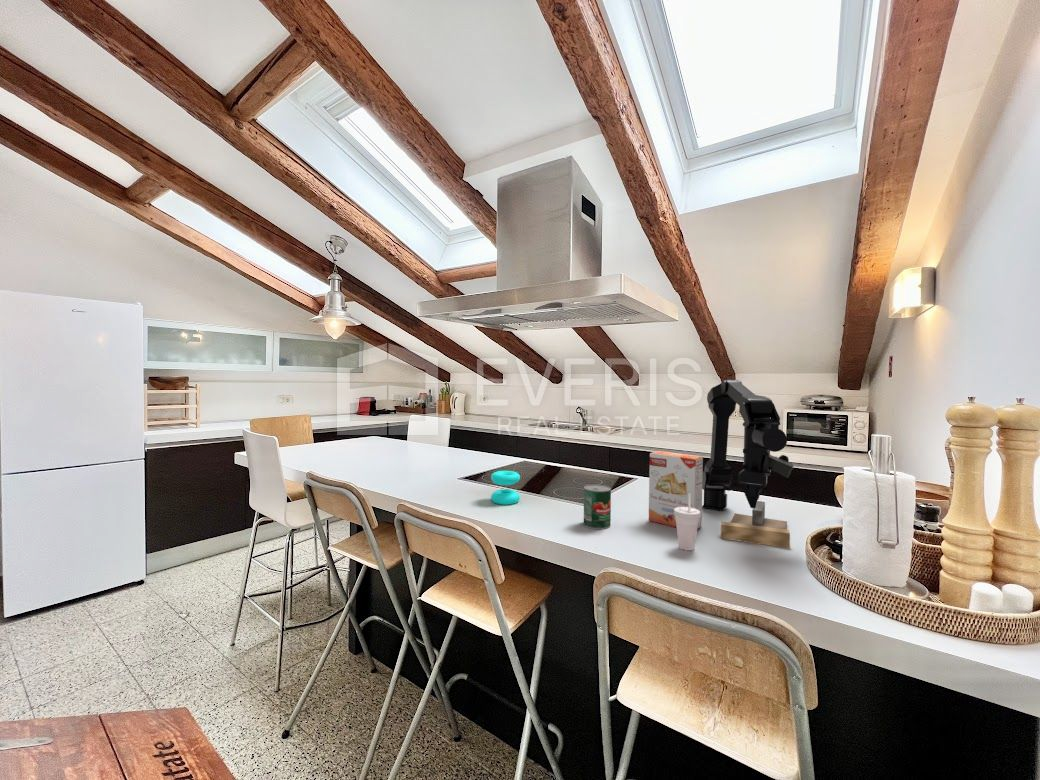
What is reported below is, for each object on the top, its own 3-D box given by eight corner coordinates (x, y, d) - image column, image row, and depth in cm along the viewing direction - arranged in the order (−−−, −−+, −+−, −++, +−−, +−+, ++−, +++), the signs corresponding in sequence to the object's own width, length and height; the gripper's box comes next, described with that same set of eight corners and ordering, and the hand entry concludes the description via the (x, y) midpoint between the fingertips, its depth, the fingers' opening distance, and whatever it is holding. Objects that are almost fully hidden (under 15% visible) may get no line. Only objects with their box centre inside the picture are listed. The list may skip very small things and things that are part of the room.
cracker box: (647, 521, 134) (648, 452, 133) (656, 516, 138) (657, 449, 137) (694, 532, 124) (695, 458, 124) (702, 527, 129) (703, 455, 128)
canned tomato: (590, 518, 136) (591, 483, 136) (615, 523, 131) (615, 486, 131) (578, 525, 129) (579, 488, 129) (603, 531, 125) (604, 492, 125)
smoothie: (697, 554, 109) (698, 498, 108) (670, 549, 112) (671, 494, 112) (702, 546, 114) (703, 492, 114) (676, 541, 117) (677, 488, 117)
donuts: (492, 469, 159) (520, 470, 159) (492, 497, 159) (519, 497, 159) (490, 476, 149) (519, 476, 149) (489, 505, 149) (519, 505, 149)
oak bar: (720, 539, 120) (721, 524, 120) (720, 535, 123) (721, 521, 123) (789, 548, 114) (789, 533, 113) (787, 544, 116) (788, 529, 116)
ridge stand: (729, 527, 129) (729, 506, 129) (734, 516, 139) (735, 497, 139) (785, 537, 121) (786, 515, 121) (786, 524, 131) (787, 504, 131)
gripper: (790, 453, 105) (789, 518, 106) (792, 443, 121) (791, 500, 122) (738, 449, 111) (737, 510, 112) (746, 440, 127) (745, 494, 127)
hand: (754, 503), depth 118 cm, fingers open, 9 cm apart
